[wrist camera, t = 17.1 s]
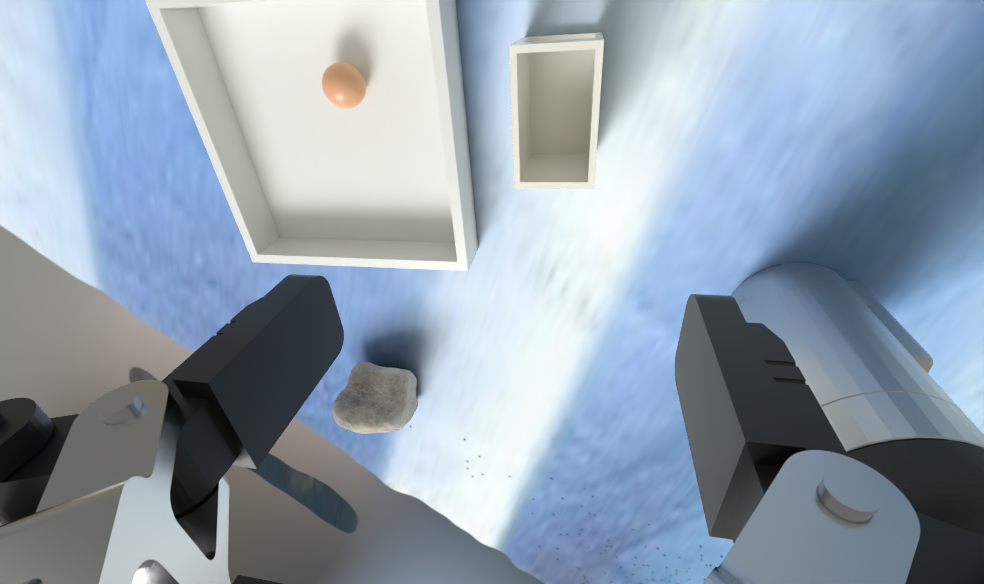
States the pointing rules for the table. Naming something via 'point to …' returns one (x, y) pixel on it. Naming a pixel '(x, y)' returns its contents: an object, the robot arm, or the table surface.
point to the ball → (343, 85)
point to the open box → (555, 109)
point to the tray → (332, 126)
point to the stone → (376, 399)
